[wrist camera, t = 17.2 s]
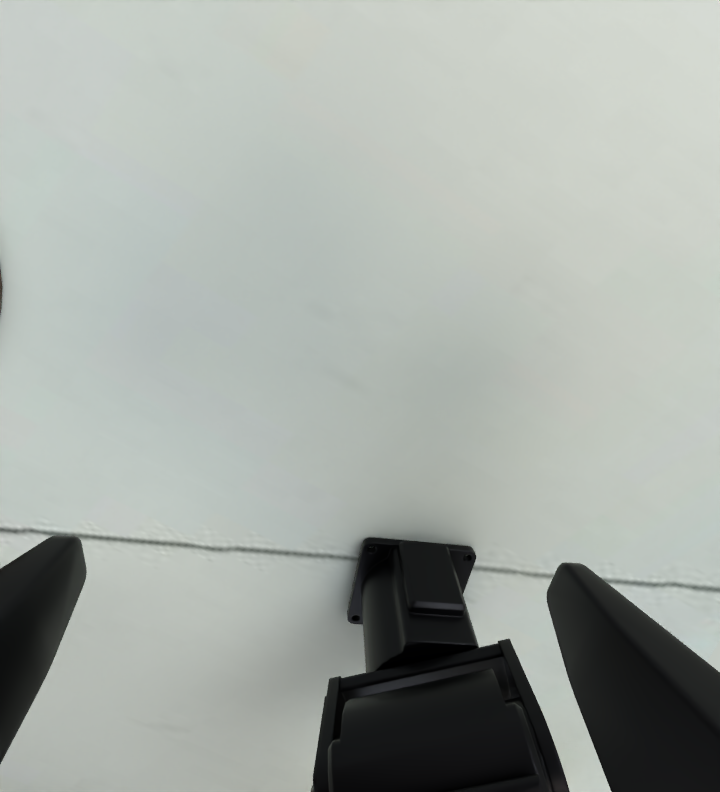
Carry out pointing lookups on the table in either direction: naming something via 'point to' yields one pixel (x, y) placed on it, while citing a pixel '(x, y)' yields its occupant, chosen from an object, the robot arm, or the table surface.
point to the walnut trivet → (0, 291)
